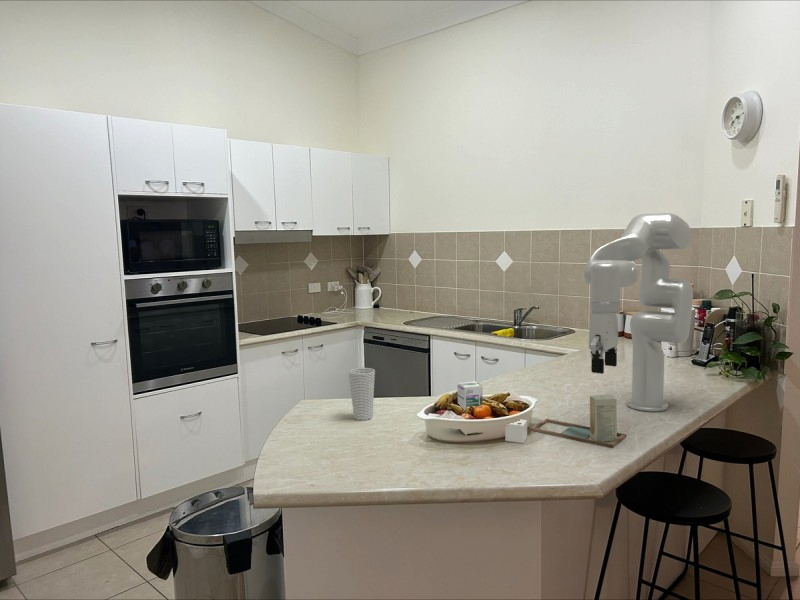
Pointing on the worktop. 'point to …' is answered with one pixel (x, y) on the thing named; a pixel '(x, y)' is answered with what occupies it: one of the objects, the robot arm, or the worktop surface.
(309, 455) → the worktop surface
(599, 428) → the skincare box
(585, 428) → the wooden frame
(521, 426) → the die
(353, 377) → the cup
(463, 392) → the syrup box
